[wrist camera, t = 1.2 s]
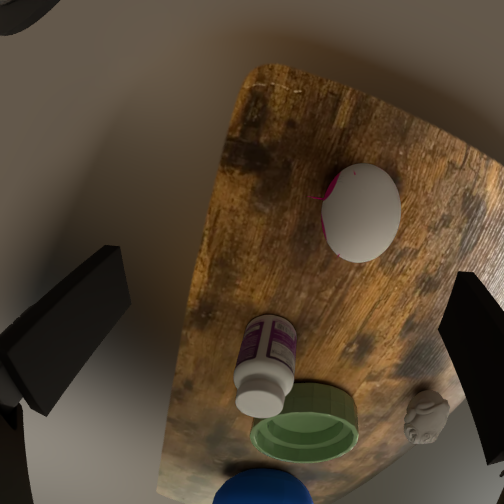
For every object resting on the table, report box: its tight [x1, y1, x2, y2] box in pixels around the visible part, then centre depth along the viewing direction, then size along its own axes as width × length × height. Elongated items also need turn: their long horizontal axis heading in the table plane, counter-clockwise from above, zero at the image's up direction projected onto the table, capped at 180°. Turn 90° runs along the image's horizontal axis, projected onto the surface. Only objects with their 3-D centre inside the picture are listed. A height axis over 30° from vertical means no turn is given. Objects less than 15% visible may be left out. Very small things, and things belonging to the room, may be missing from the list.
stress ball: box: [307, 163, 401, 263], centre depth 23 cm, size 8×8×7 cm
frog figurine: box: [404, 390, 450, 444], centre depth 30 cm, size 6×7×7 cm
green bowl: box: [250, 383, 359, 463], centre depth 35 cm, size 13×13×5 cm
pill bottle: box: [234, 315, 297, 418], centre depth 28 cm, size 5×5×10 cm
